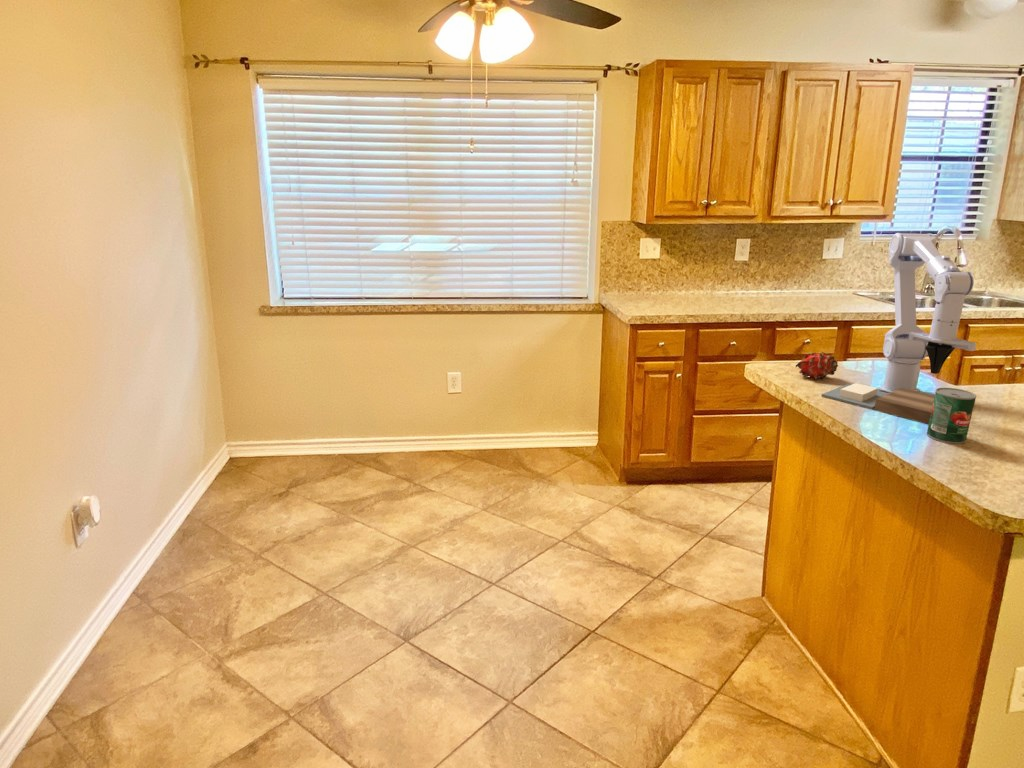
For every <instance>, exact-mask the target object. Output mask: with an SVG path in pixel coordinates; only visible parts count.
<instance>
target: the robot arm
mask: <svg viewBox="0 0 1024 768" xmlns="http://www.w3.org/2000/svg"><path fill="white" fill-rule="evenodd" d="M936 246H937V238H936V237H935V236H934V234H933V233H929V232H928V233H901V232H896V233H894V234H893V236H892V237H891V239H890V241H889V244H888V260H889V266H891V267H893V276H894V277H893V278H894V279H893V280H894V281H893V282H894V283H893V284H894V316H895V319H894V320H895V322H894V323H895V326H893V328H890V329H889V330H888V331H887V332H886V333H885V334H884V340H883V341H884V342H883V347H882V352H883V356H884V357H885V358H886V359H887V366H886V369H885V377H884V381H883V385H881V386H879V387H877V388H878V390H877V391H881V392H886V393H891V392H893V391H895V390H897V389H900V388H906V389H910V390H915V391H919V392H921V388H917V386H918V382H919V377H920V373H921V366H920V364H921V363H922V361H923V360H925V359H926V357H927V356H928V358H929V365H930V366H929V367H930V374H935V375H938V374H939V373H940V371H941V369H942V367H943V366H944V364H945V362H946V361H947V359H948V358H949V357H950V355H951V354H952V353H953V352H954V351H955V349H959V350H960V349H961V350H967V351H968V352H975V350H976V348H977V343H978V342H974V341H969V340H966V339H962V338H957V335H958V331H959V327H960V326H959V325H960V321H961V317H962V312H963V309H964V303H965V299H966V296H969V294H971V292H972V291H973V288H974V282H975V281H974V276H973V275H972V274H973V273H972V272H971V271H964V270H960V268H959V267H958V266H957V265H956V264H955V263H954V261H953V260H952V259H951V257H950V256H949V255H943V254H941V253H940V252H939V250H938V249H937V247H936ZM925 264H926V267H925V269H926V273H927V274H928V275H929V276H930V277H931V279H932V280H933V281H934V301H935V306H934V309H933V316H932V321H931V326H930V330H929V333H926V331H924V329H922V328H921V327H920V326H918V325H917V306H916V305H917V304H916V300H917V297H916V276H915V275H916V273H915V272H916V270H917V269H918V268H920V267H922V266H924V265H925Z"/></svg>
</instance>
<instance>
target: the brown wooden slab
mask: <svg viewBox="0 0 1024 768" xmlns="http://www.w3.org/2000/svg"><path fill="white" fill-rule="evenodd" d="M887 393H888V394H886V395H884V396H882V397H879V398H877V399H876V402H875V407H874V409H873V410H874V411H876V412H877V411H878V412H881V413H884V414H888V415H893V416H896V417H900V418H904V419H907V420H911V421H916V422H920V423H923V424H927V425H929V421H930V416H931V411H932V406H933V402H934V397H935V394H931V393H927V392H924V391H923V392H922V391H915V390H910V389H906V388H900V389H897V390H895V391H893V392H891V393H889V392H887Z"/></svg>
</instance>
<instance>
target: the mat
mask: <svg viewBox="0 0 1024 768" xmlns="http://www.w3.org/2000/svg"><path fill="white" fill-rule="evenodd" d="M850 385H852V384H851V383H847V384H844V385H842V386H840V387H837V388H835V389H831V390H829V391H826V392H824V393H821V397H823V398H827V399H830V400H834V401H838V402H843V403H846V404H850V405H854V406H858V407H862V408H866V409H869V410H874V407H875V402H876V399H877V398H879V397H882V396H884V395H886V394H888V393H889V392H884V391H880V390H877V395H876V396H874V397H872V398H869V399H867V400H865V401H862V402H861V401H857V400H853V399H849V398H845V397H841V396H839V395H840V389H842V388H845V387H847V386H850Z"/></svg>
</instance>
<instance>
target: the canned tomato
mask: <svg viewBox="0 0 1024 768" xmlns="http://www.w3.org/2000/svg"><path fill="white" fill-rule="evenodd" d="M934 395H935V397H934V402H933V406H932V411H931V416H930V421H929V424H927V425H928V426H927V431H926V436H927V437H929V438H930V439H932V440H934V441H937V442H941V443H946V444H951V445H952V444H954V445H958V444H959V445H960V444H964V443H966V442H967V437H968V433H969V428H970V424H971V419H972V415H973V412H974V407H975V403H976V398H977V395H976V394H975V393H973V392H971V391H968V390H965V389H960V388H953V387H939V388H936V389H935V393H934Z"/></svg>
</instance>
